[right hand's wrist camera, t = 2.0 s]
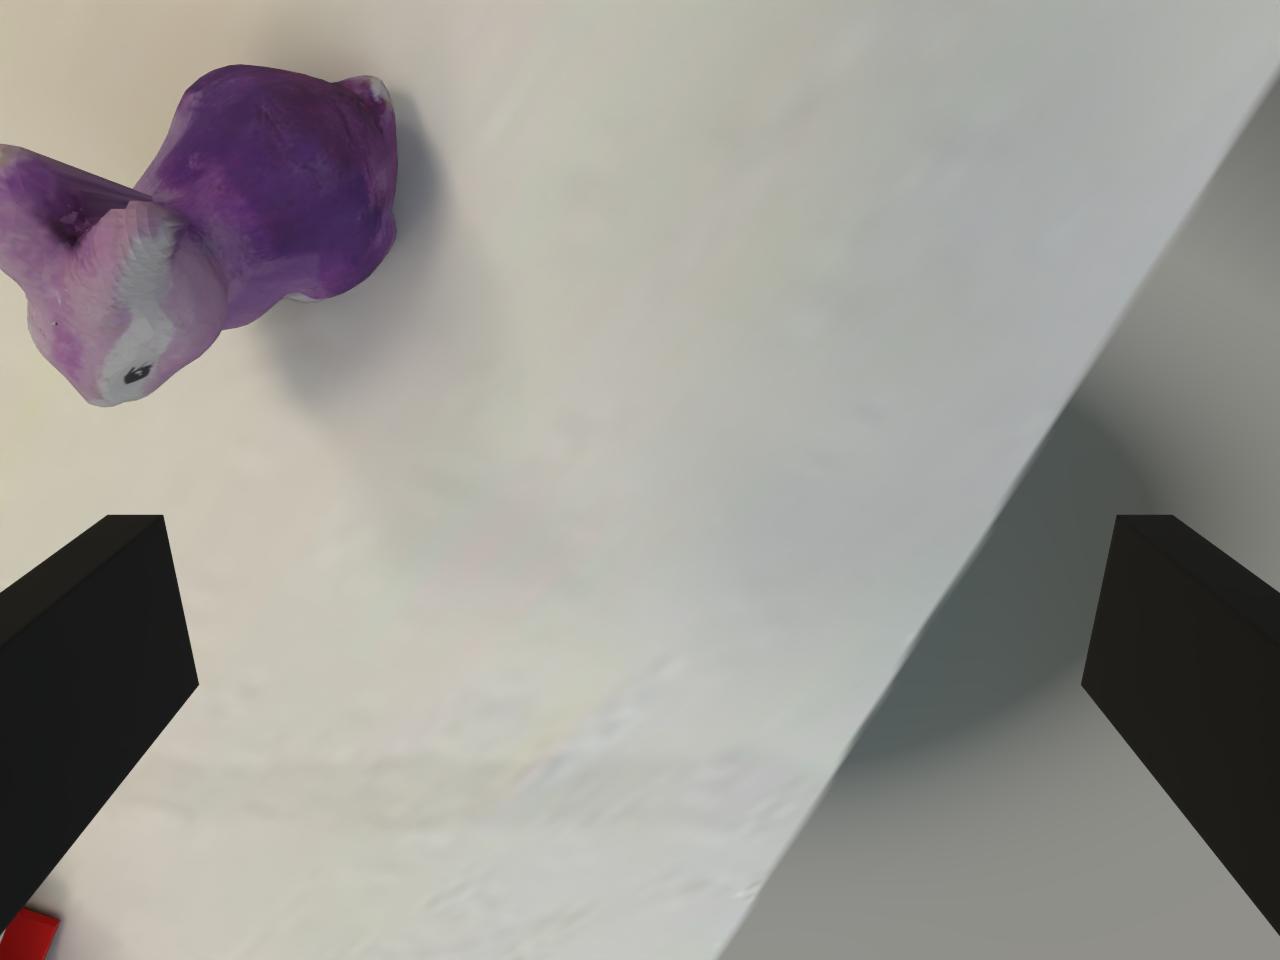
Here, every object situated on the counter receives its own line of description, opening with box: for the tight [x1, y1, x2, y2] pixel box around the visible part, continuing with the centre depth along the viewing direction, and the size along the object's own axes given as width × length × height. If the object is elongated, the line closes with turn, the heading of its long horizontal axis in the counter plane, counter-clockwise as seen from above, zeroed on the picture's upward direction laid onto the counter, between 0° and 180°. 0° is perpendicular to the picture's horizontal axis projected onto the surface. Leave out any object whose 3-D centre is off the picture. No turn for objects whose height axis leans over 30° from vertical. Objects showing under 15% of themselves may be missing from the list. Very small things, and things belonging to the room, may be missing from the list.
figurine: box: [0, 64, 398, 407], centre depth 29 cm, size 9×10×15 cm
